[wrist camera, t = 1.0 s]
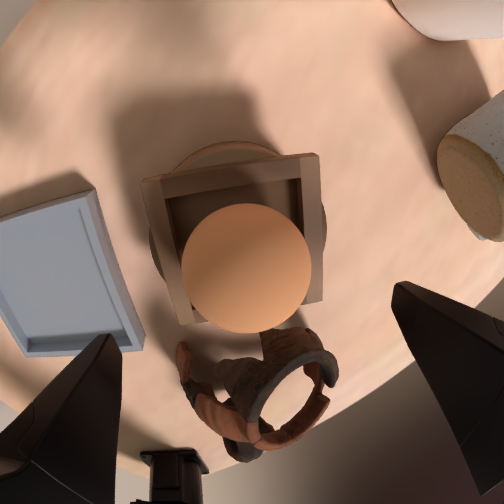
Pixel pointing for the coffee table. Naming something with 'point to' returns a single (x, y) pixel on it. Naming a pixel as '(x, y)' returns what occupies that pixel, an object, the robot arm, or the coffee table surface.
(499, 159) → the ceramic mug
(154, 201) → the open wooden box
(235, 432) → the pottery mug
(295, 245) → the ball
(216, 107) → the coffee table surface
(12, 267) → the tray
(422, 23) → the can
